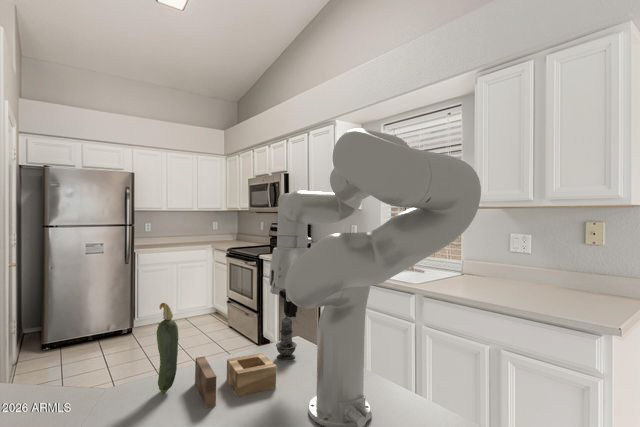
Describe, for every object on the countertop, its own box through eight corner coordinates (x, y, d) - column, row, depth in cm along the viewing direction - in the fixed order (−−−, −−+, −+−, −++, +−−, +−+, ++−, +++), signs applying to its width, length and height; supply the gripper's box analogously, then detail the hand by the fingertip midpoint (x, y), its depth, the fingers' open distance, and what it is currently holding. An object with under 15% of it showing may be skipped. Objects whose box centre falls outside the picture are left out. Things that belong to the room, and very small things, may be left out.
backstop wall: (215, 405, 74) (216, 376, 74) (205, 407, 73) (206, 378, 73) (203, 381, 84) (204, 356, 84) (194, 383, 83) (195, 357, 83)
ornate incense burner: (282, 352, 104) (283, 311, 104) (300, 355, 101) (301, 313, 101) (271, 359, 99) (272, 315, 99) (289, 363, 96) (290, 318, 96)
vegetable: (180, 389, 80) (182, 300, 80) (170, 399, 76) (173, 305, 76) (161, 388, 80) (164, 299, 81) (150, 397, 76) (153, 304, 76)
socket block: (275, 387, 82) (276, 366, 82) (237, 396, 77) (237, 373, 77) (262, 372, 90) (262, 352, 90) (226, 380, 85) (227, 359, 85)
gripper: (311, 241, 96) (309, 309, 96) (258, 242, 89) (256, 315, 88) (325, 243, 89) (323, 316, 89) (269, 244, 82) (267, 323, 82)
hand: (290, 315), depth 89 cm, fingers closed
